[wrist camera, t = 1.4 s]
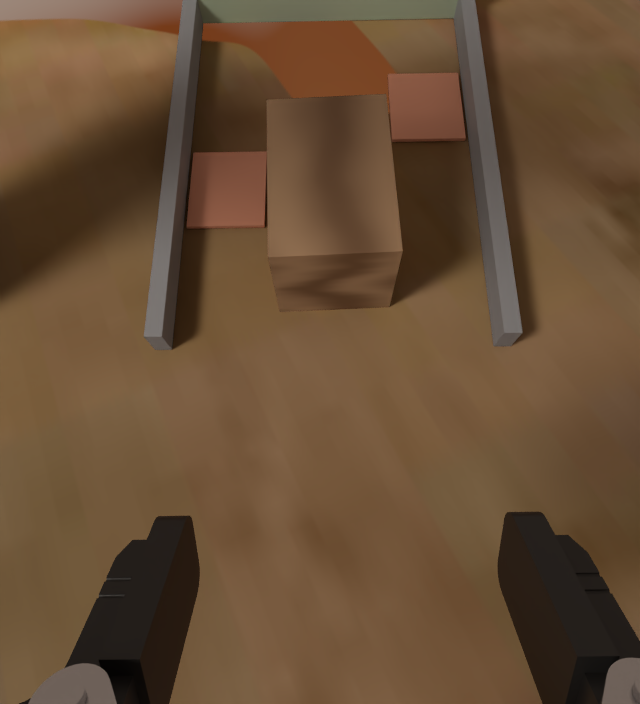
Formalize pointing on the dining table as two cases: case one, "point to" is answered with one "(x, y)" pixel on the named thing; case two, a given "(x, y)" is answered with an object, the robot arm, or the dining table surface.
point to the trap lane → (251, 167)
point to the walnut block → (332, 203)
